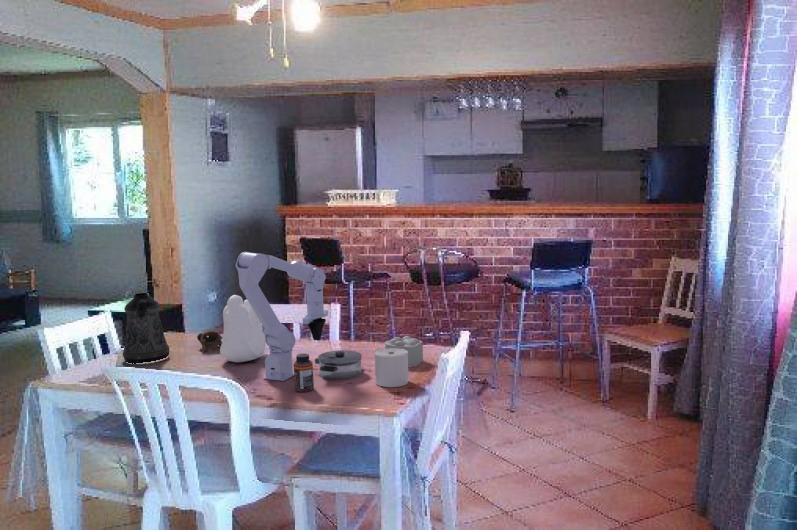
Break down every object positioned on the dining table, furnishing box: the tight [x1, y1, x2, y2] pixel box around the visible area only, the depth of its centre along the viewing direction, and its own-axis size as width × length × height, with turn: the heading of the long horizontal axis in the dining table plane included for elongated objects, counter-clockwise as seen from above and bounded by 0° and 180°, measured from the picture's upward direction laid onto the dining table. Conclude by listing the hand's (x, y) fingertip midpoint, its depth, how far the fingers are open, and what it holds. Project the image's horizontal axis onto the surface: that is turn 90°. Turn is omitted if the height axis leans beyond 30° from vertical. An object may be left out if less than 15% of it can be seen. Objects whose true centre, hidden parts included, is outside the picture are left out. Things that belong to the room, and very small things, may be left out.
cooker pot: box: [314, 357, 362, 381], centre depth 242 cm, size 19×16×5 cm
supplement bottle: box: [293, 353, 315, 393], centre depth 225 cm, size 6×6×11 cm
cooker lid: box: [317, 349, 363, 365], centre depth 241 cm, size 15×15×2 cm
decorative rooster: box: [219, 294, 266, 363], centre depth 264 cm, size 25×16×25 cm, turn 155°
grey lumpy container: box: [384, 335, 424, 367], centre depth 253 cm, size 10×13×9 cm
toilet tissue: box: [374, 347, 410, 388], centre depth 230 cm, size 11×12×10 cm
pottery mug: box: [196, 330, 223, 352], centre depth 280 cm, size 12×10×8 cm
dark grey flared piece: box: [122, 292, 170, 364], centre depth 266 cm, size 16×19×25 cm
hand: (316, 339), depth 250 cm, fingers closed
